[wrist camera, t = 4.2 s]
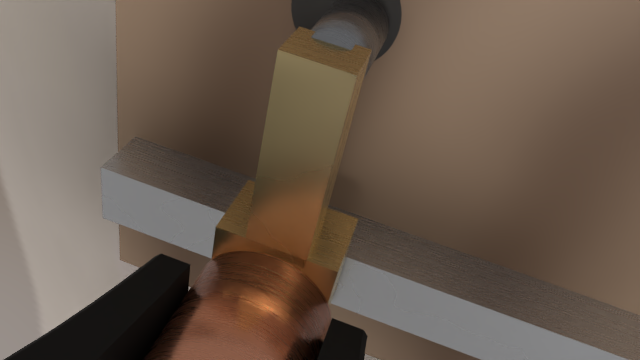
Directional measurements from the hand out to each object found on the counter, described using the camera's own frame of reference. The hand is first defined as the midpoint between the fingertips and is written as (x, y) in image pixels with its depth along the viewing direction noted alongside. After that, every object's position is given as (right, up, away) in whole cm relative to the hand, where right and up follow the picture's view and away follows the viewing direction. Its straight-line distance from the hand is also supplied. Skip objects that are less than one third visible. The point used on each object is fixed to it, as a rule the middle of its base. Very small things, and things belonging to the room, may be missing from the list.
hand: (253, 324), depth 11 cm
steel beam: (+6, 0, +3) cm, 7 cm away
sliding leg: (+1, +3, +2) cm, 4 cm away
